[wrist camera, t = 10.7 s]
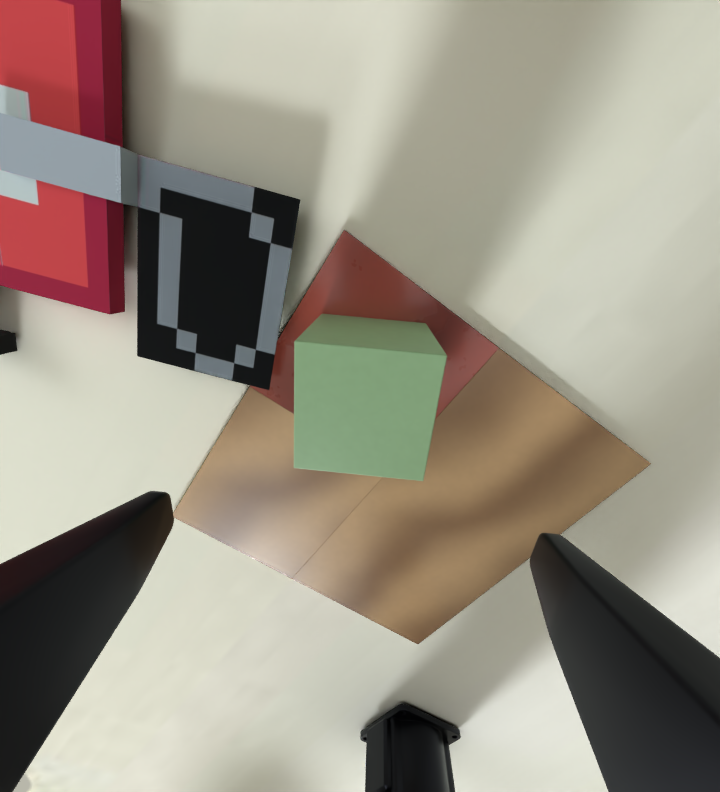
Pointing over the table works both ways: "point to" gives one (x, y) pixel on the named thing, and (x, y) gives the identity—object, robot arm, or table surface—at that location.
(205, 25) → the table surface
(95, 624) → the robot arm
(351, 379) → the green nearly cubic block
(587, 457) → the brown red square board
